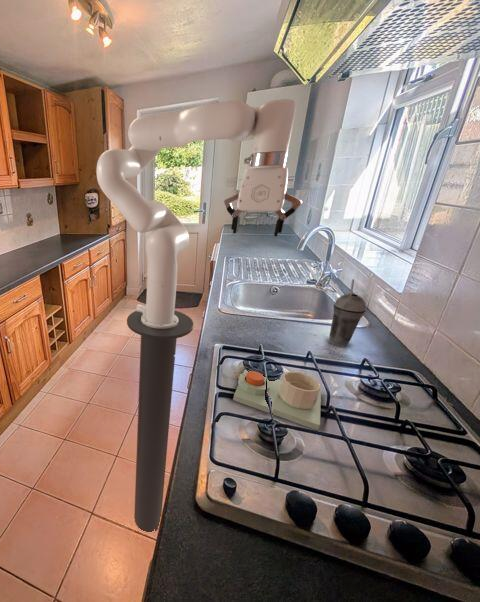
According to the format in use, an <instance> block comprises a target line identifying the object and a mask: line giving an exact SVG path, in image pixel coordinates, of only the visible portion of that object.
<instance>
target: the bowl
mask: <svg viewBox="0 0 480 602" xmlns="http://www.w3.org/2000/svg"><path fill="white" fill-rule="evenodd" d="M281 380H282V381H281V385H280V389H279V396H280V398H281V399H282V400H283V401H284V402H285V403H287V404H289V405H290V406H293V407H295V408H299V409H308V408H312V407H314V406H315V404H316V401H317V398H318V395H319V392H321V389H322V388H321V383H320V382H319V381H318V380H317V379H316V378H314V376H312V375H308V374H307V373H303V372H300V371H291V370H290V371H286V372H284V373H283V374H282V378H281Z"/></svg>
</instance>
